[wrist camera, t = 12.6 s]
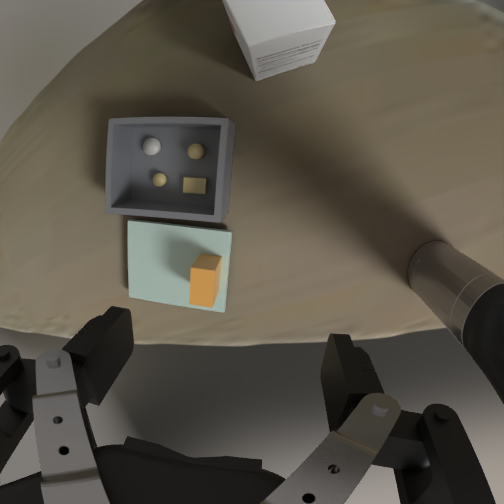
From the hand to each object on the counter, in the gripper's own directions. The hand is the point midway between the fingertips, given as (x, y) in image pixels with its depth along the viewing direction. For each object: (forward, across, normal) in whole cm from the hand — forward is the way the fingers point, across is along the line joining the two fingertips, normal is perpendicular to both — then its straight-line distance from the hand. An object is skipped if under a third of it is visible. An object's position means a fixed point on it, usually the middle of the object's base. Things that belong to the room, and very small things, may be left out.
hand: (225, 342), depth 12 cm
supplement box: (+32, 0, -23) cm, 40 cm away
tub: (+32, +12, -5) cm, 34 cm away
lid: (+32, +11, +9) cm, 35 cm away
